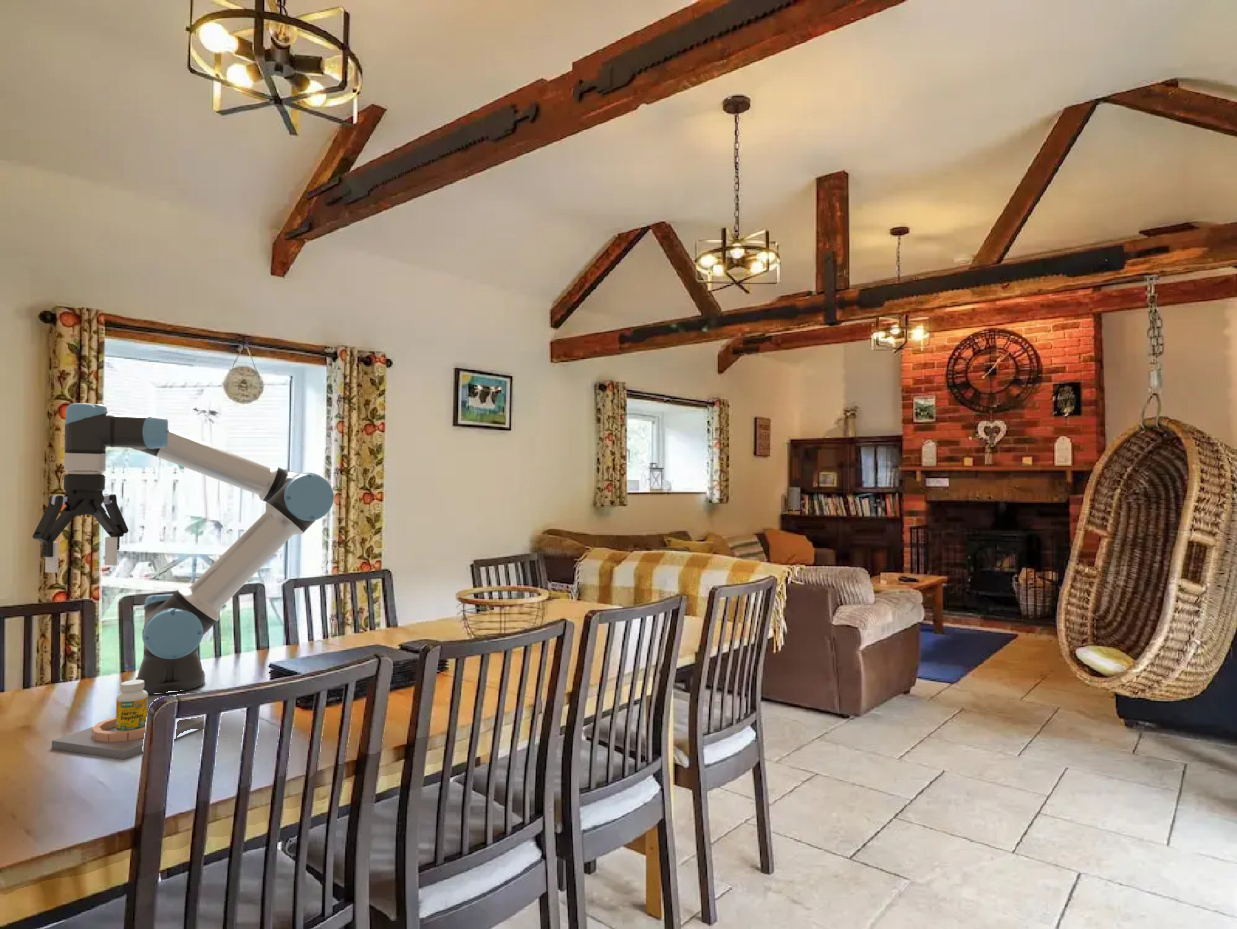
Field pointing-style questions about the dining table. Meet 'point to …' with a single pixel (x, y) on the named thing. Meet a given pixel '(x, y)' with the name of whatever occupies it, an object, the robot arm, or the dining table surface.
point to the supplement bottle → (131, 706)
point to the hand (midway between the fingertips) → (82, 568)
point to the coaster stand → (112, 739)
